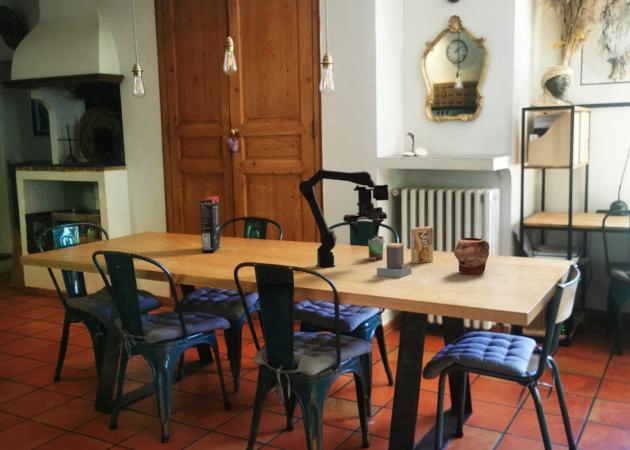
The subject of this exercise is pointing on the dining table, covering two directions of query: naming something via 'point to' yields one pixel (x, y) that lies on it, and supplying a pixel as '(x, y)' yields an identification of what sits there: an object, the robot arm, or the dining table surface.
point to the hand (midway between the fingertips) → (365, 236)
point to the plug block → (395, 256)
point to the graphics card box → (210, 224)
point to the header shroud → (395, 271)
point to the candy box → (422, 244)
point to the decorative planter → (472, 255)
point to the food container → (376, 248)
